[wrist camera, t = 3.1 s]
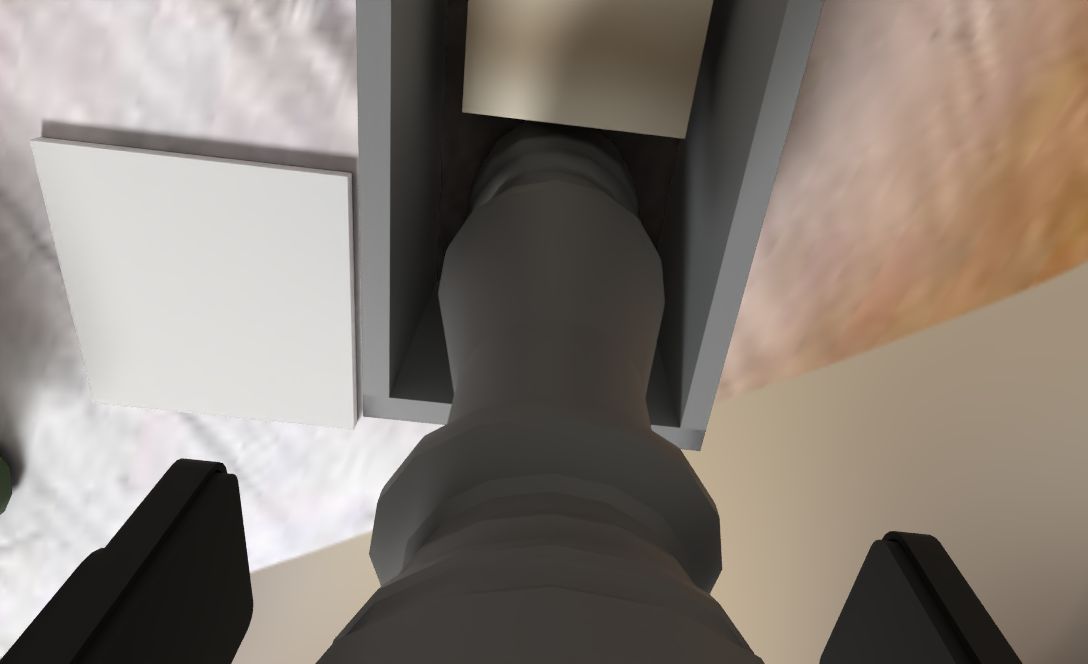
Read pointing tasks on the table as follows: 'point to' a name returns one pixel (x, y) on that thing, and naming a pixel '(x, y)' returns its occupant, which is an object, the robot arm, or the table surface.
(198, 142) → the table surface
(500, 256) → the candle holder
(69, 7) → the table surface
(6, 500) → the character mug
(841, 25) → the table surface
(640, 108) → the upper offcut
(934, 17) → the table surface
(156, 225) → the mat
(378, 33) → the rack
